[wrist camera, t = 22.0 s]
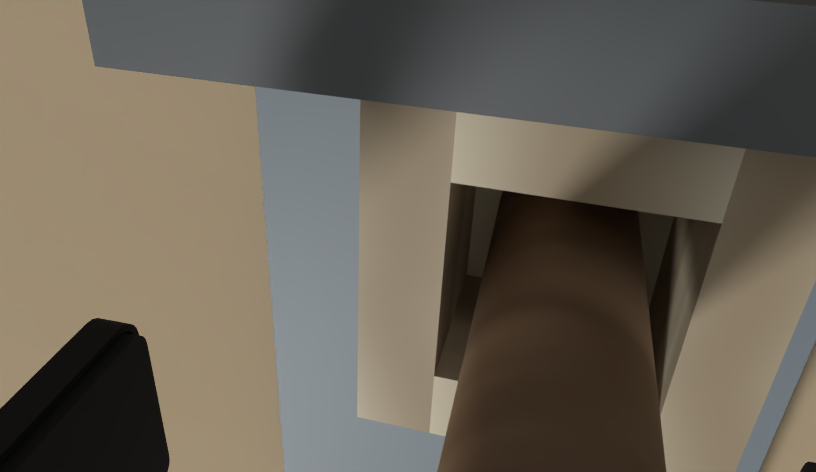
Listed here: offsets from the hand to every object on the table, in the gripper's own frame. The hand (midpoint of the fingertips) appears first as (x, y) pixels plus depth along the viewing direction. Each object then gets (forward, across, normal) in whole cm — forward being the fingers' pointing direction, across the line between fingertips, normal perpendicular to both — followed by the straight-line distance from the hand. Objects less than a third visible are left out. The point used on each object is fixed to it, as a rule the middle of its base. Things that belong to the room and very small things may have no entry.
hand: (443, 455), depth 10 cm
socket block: (+9, -2, 0) cm, 9 cm away
